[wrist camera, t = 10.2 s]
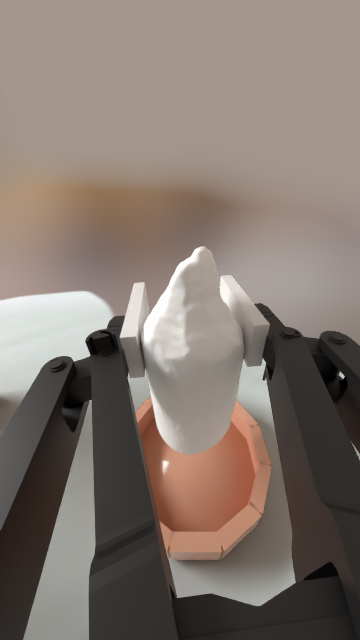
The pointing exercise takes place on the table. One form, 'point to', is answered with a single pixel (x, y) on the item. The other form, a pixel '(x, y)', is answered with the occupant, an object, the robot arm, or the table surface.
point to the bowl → (207, 487)
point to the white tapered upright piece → (193, 357)
